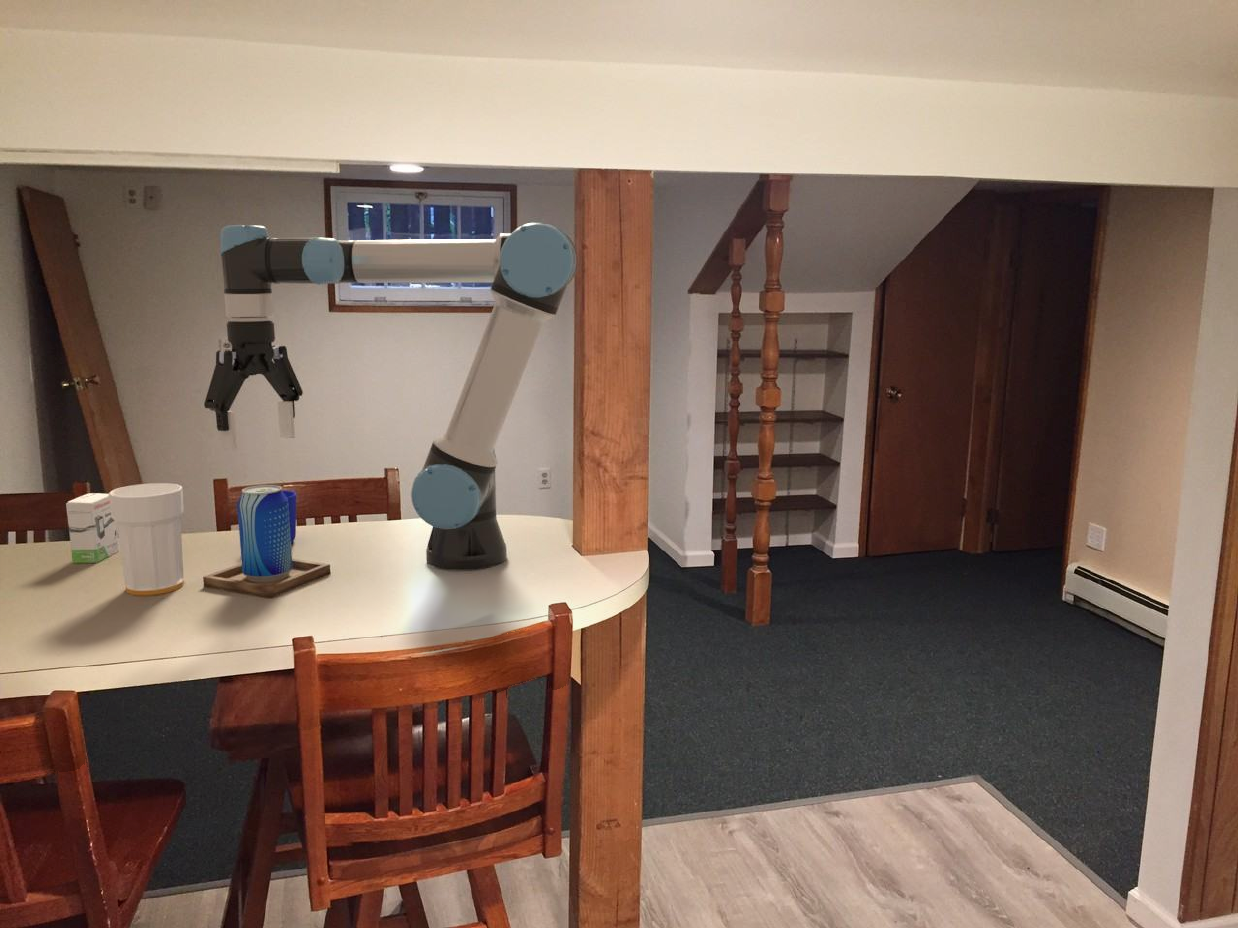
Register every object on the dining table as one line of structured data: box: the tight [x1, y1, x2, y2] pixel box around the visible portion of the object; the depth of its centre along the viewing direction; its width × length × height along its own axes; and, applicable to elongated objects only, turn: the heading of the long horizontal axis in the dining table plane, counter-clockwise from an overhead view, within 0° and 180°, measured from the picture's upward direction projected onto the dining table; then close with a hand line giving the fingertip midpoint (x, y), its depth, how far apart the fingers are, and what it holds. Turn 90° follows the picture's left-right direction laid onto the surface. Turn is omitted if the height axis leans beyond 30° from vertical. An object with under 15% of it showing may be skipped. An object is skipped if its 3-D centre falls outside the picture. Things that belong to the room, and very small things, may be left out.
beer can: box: [236, 484, 293, 583], centre depth 172 cm, size 8×8×16 cm
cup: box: [108, 482, 185, 597], centre depth 168 cm, size 11×11×17 cm
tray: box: [202, 558, 331, 599], centre depth 173 cm, size 15×15×2 cm
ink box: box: [65, 492, 120, 564], centre depth 187 cm, size 9×5×12 cm, turn 0°
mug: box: [281, 490, 297, 543], centre depth 199 cm, size 8×12×10 cm
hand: (259, 443), depth 169 cm, fingers open, 13 cm apart
